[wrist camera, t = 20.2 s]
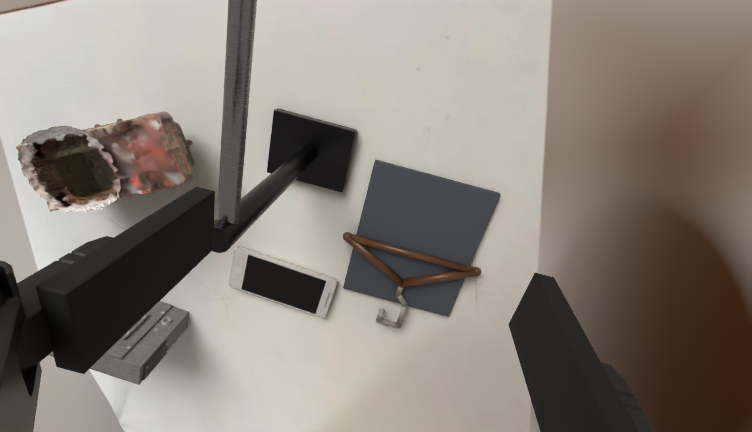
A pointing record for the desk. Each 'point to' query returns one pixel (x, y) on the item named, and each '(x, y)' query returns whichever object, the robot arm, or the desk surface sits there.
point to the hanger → (459, 273)
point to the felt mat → (418, 233)
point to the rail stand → (287, 146)
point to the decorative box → (106, 161)
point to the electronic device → (143, 344)
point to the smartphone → (281, 282)
